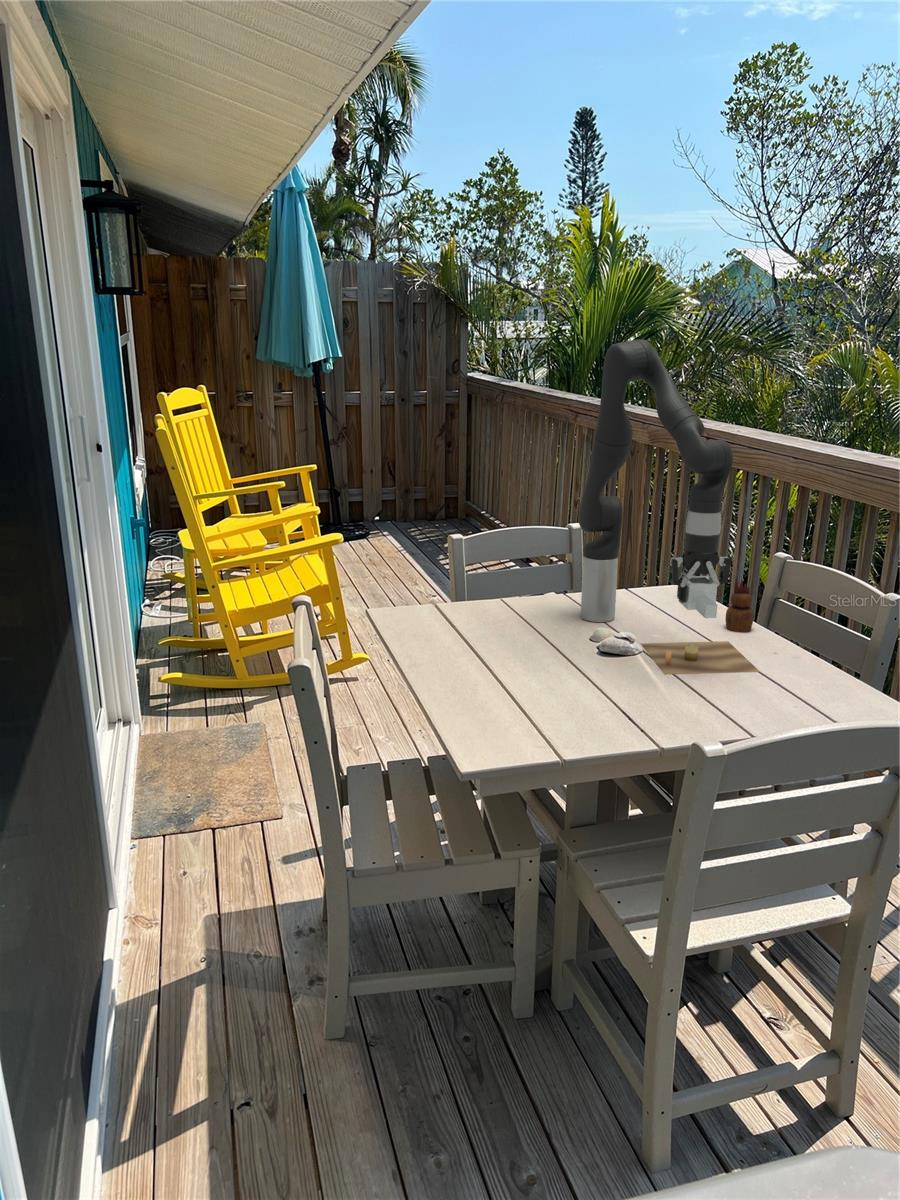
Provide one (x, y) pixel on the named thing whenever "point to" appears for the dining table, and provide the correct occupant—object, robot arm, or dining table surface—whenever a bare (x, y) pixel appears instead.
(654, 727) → the dining table surface
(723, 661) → the board
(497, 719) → the dining table surface
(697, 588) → the square container with handle
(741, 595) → the wooden figurine
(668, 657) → the dowel
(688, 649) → the small yellow jar
